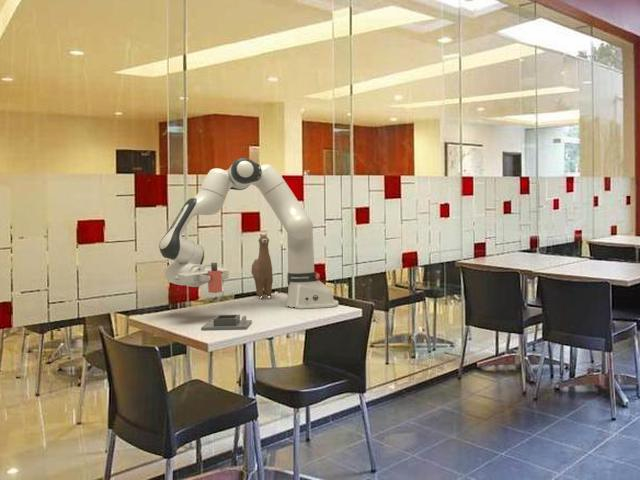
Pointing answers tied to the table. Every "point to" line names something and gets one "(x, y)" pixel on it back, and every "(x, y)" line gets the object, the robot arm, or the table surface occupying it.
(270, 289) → the toy
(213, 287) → the plug
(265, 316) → the table surface
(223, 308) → the table surface
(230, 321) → the dock
